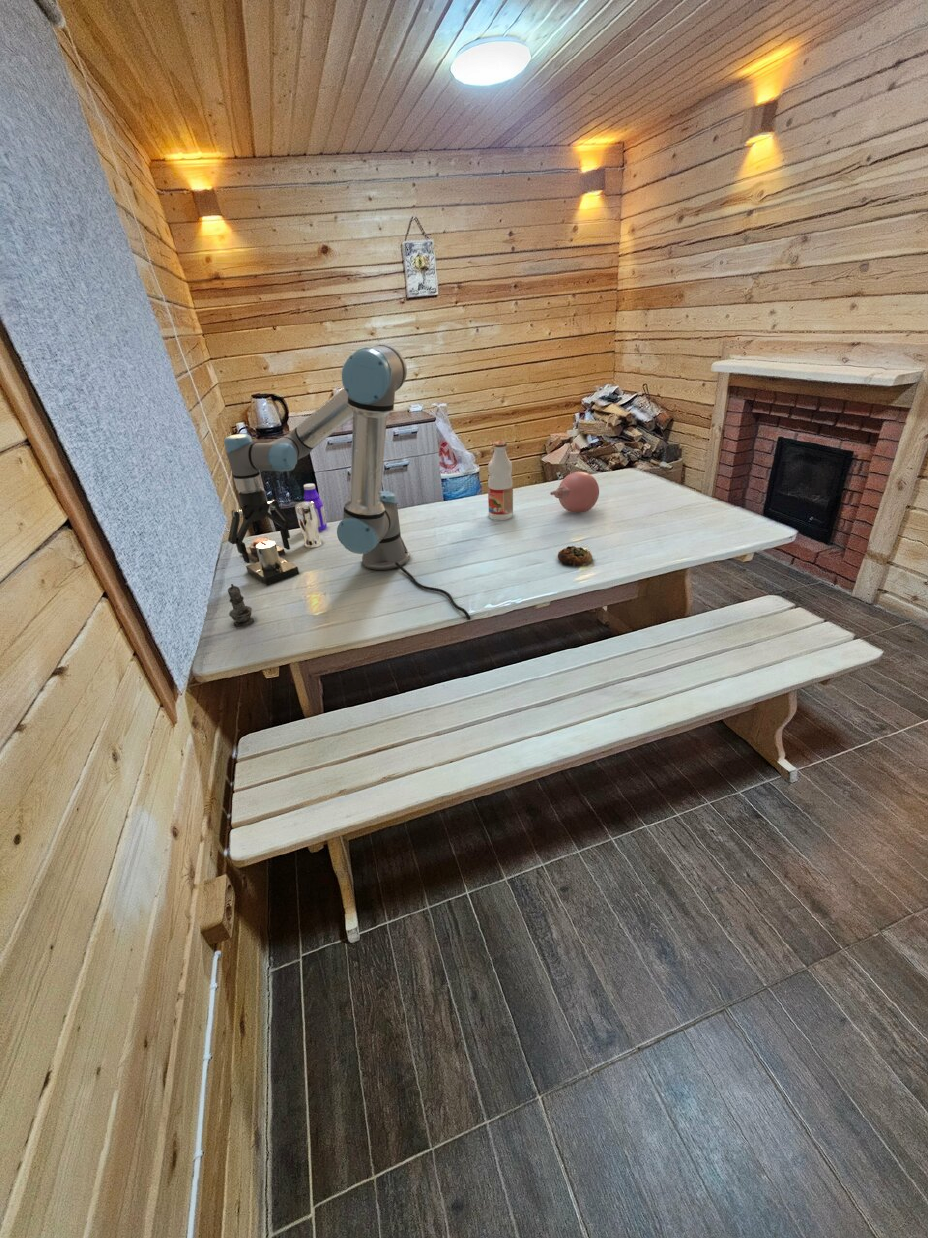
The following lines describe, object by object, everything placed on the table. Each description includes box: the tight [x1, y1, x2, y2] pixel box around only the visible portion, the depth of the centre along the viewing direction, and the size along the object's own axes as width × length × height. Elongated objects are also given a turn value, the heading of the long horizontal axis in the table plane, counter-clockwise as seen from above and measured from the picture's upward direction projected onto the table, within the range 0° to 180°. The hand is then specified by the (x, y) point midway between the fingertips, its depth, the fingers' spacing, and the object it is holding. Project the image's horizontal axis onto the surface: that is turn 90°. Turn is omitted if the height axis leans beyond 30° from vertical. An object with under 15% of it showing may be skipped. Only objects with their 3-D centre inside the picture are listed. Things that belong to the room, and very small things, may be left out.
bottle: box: [303, 483, 328, 532], centre depth 196 cm, size 7×6×17 cm
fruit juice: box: [487, 440, 514, 521], centre depth 195 cm, size 9×9×28 cm
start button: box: [252, 536, 269, 547], centre depth 180 cm, size 5×5×2 cm
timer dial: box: [256, 540, 281, 570], centre depth 165 cm, size 6×6×8 cm
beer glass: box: [294, 501, 323, 549], centre depth 184 cm, size 7×7×15 cm
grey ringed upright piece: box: [227, 583, 255, 629], centre depth 139 cm, size 6×6×12 cm
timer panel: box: [245, 556, 300, 587], centre depth 168 cm, size 14×11×3 cm
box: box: [246, 538, 286, 563], centre depth 181 cm, size 12×10×4 cm
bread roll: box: [557, 545, 593, 567], centre depth 165 cm, size 11×11×5 cm
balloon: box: [550, 471, 600, 514], centre depth 197 cm, size 15×20×15 cm
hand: (267, 555), depth 165 cm, fingers open, 13 cm apart
